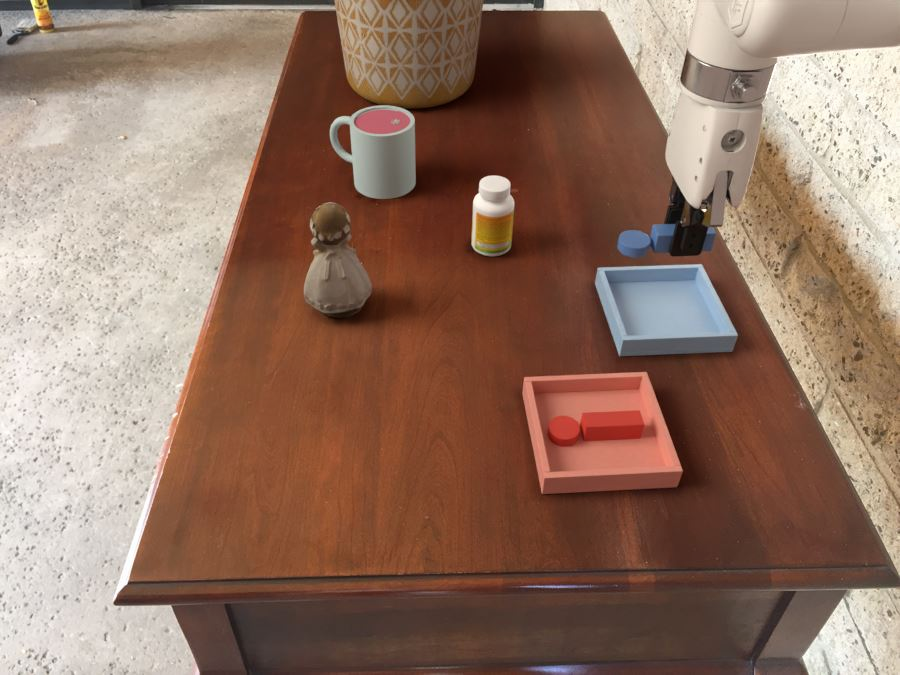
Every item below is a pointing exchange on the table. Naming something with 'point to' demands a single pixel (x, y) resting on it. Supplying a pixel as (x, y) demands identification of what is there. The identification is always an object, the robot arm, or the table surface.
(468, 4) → the planter
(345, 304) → the figurine
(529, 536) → the table surface
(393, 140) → the mug
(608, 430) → the red spoon
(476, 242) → the supplement bottle
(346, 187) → the table surface
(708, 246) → the blue spoon
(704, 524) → the table surface
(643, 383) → the red tray
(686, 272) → the blue tray
